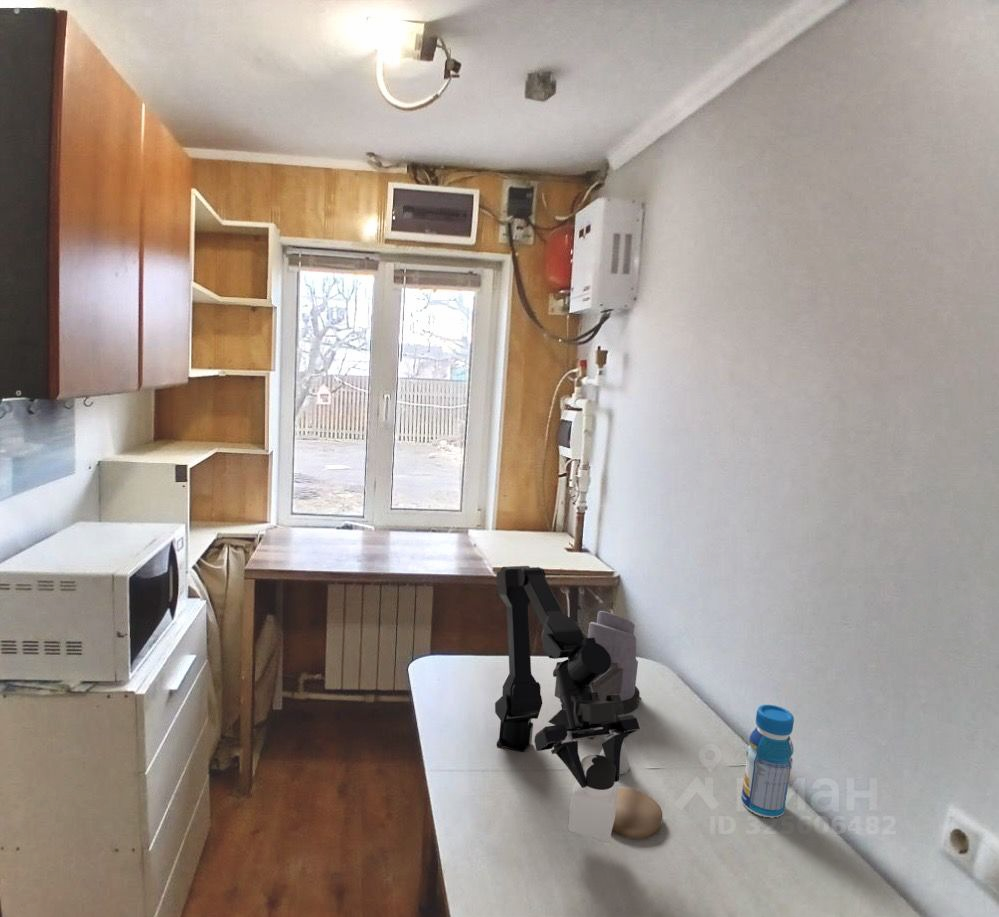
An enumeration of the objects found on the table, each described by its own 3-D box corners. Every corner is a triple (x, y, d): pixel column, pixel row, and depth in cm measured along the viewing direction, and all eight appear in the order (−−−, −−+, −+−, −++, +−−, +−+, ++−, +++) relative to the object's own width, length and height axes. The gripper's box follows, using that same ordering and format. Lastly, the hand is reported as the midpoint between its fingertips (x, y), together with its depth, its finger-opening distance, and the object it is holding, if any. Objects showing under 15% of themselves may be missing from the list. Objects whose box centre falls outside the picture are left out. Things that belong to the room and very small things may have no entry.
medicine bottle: (615, 817, 121) (622, 755, 119) (608, 843, 114) (616, 778, 112) (576, 806, 123) (582, 745, 121) (567, 831, 116) (574, 767, 114)
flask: (629, 778, 141) (634, 733, 140) (594, 771, 142) (599, 727, 141) (630, 759, 148) (635, 716, 147) (596, 753, 149) (601, 710, 148)
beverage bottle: (764, 824, 129) (778, 727, 127) (730, 798, 137) (743, 705, 134) (794, 814, 133) (808, 719, 131) (760, 789, 141) (773, 698, 138)
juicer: (594, 676, 187) (603, 591, 183) (649, 696, 178) (660, 607, 175) (539, 719, 162) (548, 621, 158) (600, 744, 153) (611, 641, 150)
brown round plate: (592, 828, 124) (593, 818, 124) (601, 791, 136) (602, 781, 136) (659, 846, 121) (660, 836, 121) (662, 806, 133) (664, 796, 132)
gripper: (547, 683, 115) (571, 782, 106) (641, 673, 122) (670, 765, 113) (525, 703, 123) (545, 797, 115) (613, 692, 130) (638, 780, 122)
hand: (600, 784), depth 116 cm, fingers closed on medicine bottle, 6 cm apart
